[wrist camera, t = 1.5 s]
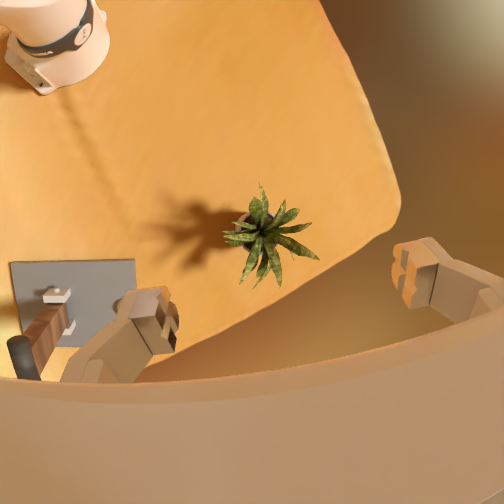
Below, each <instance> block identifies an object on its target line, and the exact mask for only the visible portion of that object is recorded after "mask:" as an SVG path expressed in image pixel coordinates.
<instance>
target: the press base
mask: <svg viewBox="0 0 504 504" xmlns="http://www.w3.org/2000/svg"><path fill="white" fill-rule="evenodd" d="M11 271H12V278H13V285H14V291H15V297H16V302H17V307H18V312H19V317H20V321H21V326H22V330H23V333H24V331H25V330H26V329H27V328H28V326H29V325H30V324H31V323H32V322H33V320H34V319H35V318H36V317H37V315H38V314H39V313H40V312H41V311H42V309H43V308H44V307H45V306H46V305H47V304H48V303H65V302H66V306H67V312H68V318H69V324H68V325H67V327H66V329H65V330H64V332H63V334H62V336H61V337H60V339H59V341H58V343H57V345H56V346H55V347H83V346H84V345H85V344H86V343H87V342H88V341H89V340H90V339H92V338H93V337H94V336H95V335H96V334H97V333H98V332H99V331H101V330H102V329H103V328H104V327H105V326H106V325H107V324H108V323H110V322H111V321H115V318H116V316H117V313H118V311H119V308H120V306H121V303H122V301H123V298H124V296H125V293H126V292H128V291H131V290H137V286H136V271H135V259H103V260H59V261H14V262H12V263H11Z"/></svg>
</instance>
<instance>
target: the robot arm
mask: <svg viewBox="0 0 504 504" xmlns="http://www.w3.org/2000/svg"><path fill="white" fill-rule="evenodd" d="M106 19H107V15H106V13H105V11H103V10H99V9H98V7H97V5H96V3H95V1H94V0H0V25H2V26H4V27H5V28H7V29H8V30H9V31H11V34H10V36H9V38H8V41H7V47H8V48H7V51H6V54H5V61H6V62H7V64H9V65H10V66H11V67H12V68H13V69H14V70H15V71H16V72H17V73H18V74H19V75H20V76H22V77H23V78H24V79H25V80H26V81H27V82H28V83H29V84H30V85H31V86H33V87H34V88H35V89H36V90H37V91H38V92H39V93H40V94H42V95H47V94H49V93H51V92H52V91H54V90H56V89H57V88H59V87H62V86H67V85H72V84H75V83H77V82H79V81H81V80H83V79H85V78H86V77H88V76H89V75H91V74H92V73H93V72H94V71H95V70H96V69H97V68H98V67H99V66H100V65H101V63H102V62H103V60H104V59H105V57H106V55H107V52H108V50H109V45H110V37H109V33H108V30H107V28H106ZM42 83H43V85H42V86H41V87H40V85H41V84H42ZM393 256H394V257H395V258H396V261H395V262H394V263H393V265H392V280H393V282H394V285H395V287H396V288H397V290H399V291H401V292H403V295H402V298H403V300H404V301H405V303H406V305H407V307H408V308H409V310H411V309H415V308H419V307H423V306H427V305H429V306H430V307H432V308H433V309H435V310H437V311H438V312H439V313H441V314H442V315H444V316H445V317H447V318H448V319H450V320H452V321H453V322H454V323H456V324H455V325H452V326H450V327H447V328H444V329H441V330H438V331H435V332H432V333H429V334H426V335H422V336H419V337H416V338H413V339H409V340H406V341H403V342H399V343H396V344H392V345H388V346H384V347H381V348H377V349H373V350H369V351H365V352H361V353H357V354H352V355H348V356H344V357H339V358H335V359H330V360H325V361H320V362H315V363H311V364H306V365H300V366H295V367H289V368H283V369H277V370H271V371H264V372H257V373H251V374H243V375H235V376H227V377H219V378H208V379H197V380H185V381H170V382H151V383H133V382H134V381H135V379H136V378H137V377H138V375H139V374H140V373H141V371H142V370H143V369H144V367H145V366H146V365H147V363H148V362H149V361H150V359H151V358H152V357H153V355H158V354H167V353H174V352H175V346H176V340H177V338H176V336H175V334H174V333H175V332H176V331H177V330H178V328H179V315H178V311H177V308H176V306H175V304H174V303H172V302H171V301H170V296H171V294H170V292H169V290H168V288H167V287H166V286H159V287H152V288H145V289H137V290H131V291H128V292H126V293H125V296H124V298H123V301H122V303H121V306H120V308H119V311H118V313H117V316H116V318H115V321H111V322H110V323H108V324H107V325H106V326H105V327H104V328H103V329H102V330H101V331H99V332H98V333H97V334H96V335H95V336H94V337H93V338H92V339H90V340H89V341H88V342H87V343H86V344H85V345H84V346H83V347H81V348H80V349H79V350H78V351H77V352H76V353H75V354H74V355H73V356H72V357H70V358H69V360H68V362H67V364H66V367H65V369H64V372H63V374H62V377H61V380H60V382H49V381H36V380H25V379H15V378H7V377H0V504H504V279H503V278H501V277H498V276H496V275H494V274H491V273H489V272H487V271H485V270H482V269H479V268H477V267H475V266H472V265H470V264H467V263H465V262H462V261H460V260H457V259H455V260H453V259H452V258H451V257H450V256H449V255H448V254H447V252H446V251H445V250H444V249H443V248H442V247H441V246H440V245H439V244H438V243H437V242H436V241H435V240H434V239H433V238H431V237H427V238H423V239H419V240H416V241H411V242H407V243H402V244H397V245H395V247H394V250H393Z"/></svg>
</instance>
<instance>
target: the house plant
mask: <svg viewBox="0 0 504 504" xmlns="http://www.w3.org/2000/svg"><path fill="white" fill-rule="evenodd" d="M259 187H260V193H261V197H262V202H261V201H260V200H258V199H256V198H255V197H254V198H253V200H252V201H251V203H250V204H249V211H250V212H249V213H246V214H244V215H242V216H241V217H239V219H238V220H237V222H231V223H234V224H236V225H235V230H234V231H221V232H223V233H226V234H229V235H227V236H222V237H225V238H229V240H227V241H223V242H226V243H227V244H229V245H230V246H240V245H242V246H243V248H244V249H245V250H247V251H248V252H250V254H249V256H248V259H247V262H246V267H245V269H244V270H243V273H244V274H243V276H242V277H241V280H240V283H241V282H242V281H243V280H244V279H245V278H246V277H247V276H248V274H249V273H250V272H251V271H252V270H253V269H254V268H255V267H256V265H257V263H258V258H259V255H262V254H263V255H262V260H261V263H260V265H259V267H258V270H257V277H260V276H261V278H260V279H259V280H258V281H257V283H256V284H255V286H256V285H257V284H258V283H259V282H260V281H261V280H262V279H263V278H264V277H265V276H266V275H267V273H268V272H269V271H270V269H272V270H273V272H274V273H275V275H276V279H277V282H278V284H279V286H281V282H282V269H281V264H280V258H279V254H278V252H277V250H276V249H275V247H276V246H277V244H280V245H282V246H284V247H285V248H287V249H288V250H290V252H291V256H292V258H293V254H292V252H293V253H295V254H297V255H298V256H307V257H309V258H312V259H318V260H320V259H319V258H318V257H317V256H316V255H315V254H314V253H313V252H312V251H310V250H309V249H307V248H306V247H304V246H303V245H301V244H299V243H298V242H297V241H295V240H294V239H292V238H290V237H285V236H283V235H281V234H287V233H296V232H299V231H301V230H303V229H305V228H307V227H308V226H309V225H310V224H312V223H306V224H304V225H303V224H300V225H296V226H292V227H281V226H282V225H284V224H286V223H288V222H290V221H291V220H293V219H294V218H295V217H296V216H297V214H298V212H299V210H300V209H296V208H293V209H290V210H289V211H287V212H286V213H285V210H286V202H285V200H284V202H283V203H281V206H280V209H279V210H278V212H277V214H276V216H274V215H273V214H272V213H270V212H268V199H267V197H266V195H265V193H264V190H263V187H262V186H261V185H260V183H259ZM284 213H285V214H284ZM268 259H269V263H270V265H269V267H268V268H267V266H268ZM293 260H294V258H293ZM257 277H256V278H257ZM255 286H254V287H255ZM254 287H253V288H254ZM279 289H280V288H279ZM252 290H253V289H252Z"/></svg>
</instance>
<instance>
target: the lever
mask: <svg viewBox="0 0 504 504" xmlns="http://www.w3.org/2000/svg"><path fill="white" fill-rule="evenodd" d="M68 324H69V318H68V312H67V306H66V302H65V303H48V304H47V305H46V306H45V307H44V308H43V309H42V311H41V312H40V313H39V314H38V315H37V317H36V318H35V319H34V320H33V322H32V323H31V324H30V325H29V326H28V328H27V329H26V330H25V331H24V333H23V334H22V335H18V336H14V337H12V338H10V339H9V340H8V341H7V347H8V350H9V353H10V357H11V360H12V363H13V366H14V369H15V372H16V375H17V378H18V379H25V380H36V381H41V378H40V375H41V373H42V371H43V369H44V367H45V365H46V363H47V361H48V359H49V357H50V356H51V354H52V352H53V350H54V348H55V346H56V345H57V343H58V341H59V339H60V337H61V336H62V334H63V332H64V330H65V329H66V327H67V325H68Z"/></svg>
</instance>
